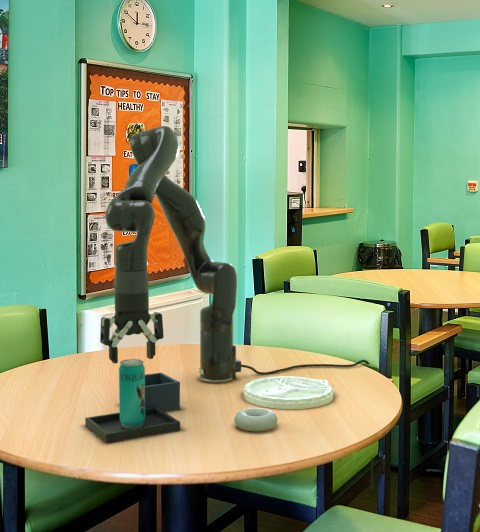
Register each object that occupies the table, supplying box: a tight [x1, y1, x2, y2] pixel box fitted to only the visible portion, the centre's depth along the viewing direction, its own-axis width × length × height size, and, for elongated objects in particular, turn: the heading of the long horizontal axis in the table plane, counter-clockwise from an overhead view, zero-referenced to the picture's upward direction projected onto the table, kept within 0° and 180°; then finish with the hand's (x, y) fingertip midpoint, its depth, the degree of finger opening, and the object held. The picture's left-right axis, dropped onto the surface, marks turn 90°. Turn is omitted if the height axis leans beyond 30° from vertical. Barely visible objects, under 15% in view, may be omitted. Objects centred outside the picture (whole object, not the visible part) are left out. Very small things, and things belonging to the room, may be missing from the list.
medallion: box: [243, 375, 334, 410], centre depth 215 cm, size 24×27×2 cm
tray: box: [84, 407, 181, 444], centre depth 186 cm, size 18×14×2 cm
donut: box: [233, 407, 278, 432], centre depth 188 cm, size 10×3×10 cm
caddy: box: [145, 372, 181, 413], centre depth 202 cm, size 11×11×7 cm
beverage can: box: [118, 358, 146, 429], centre depth 185 cm, size 6×6×15 cm
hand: (132, 360), depth 184 cm, fingers open, 8 cm apart
